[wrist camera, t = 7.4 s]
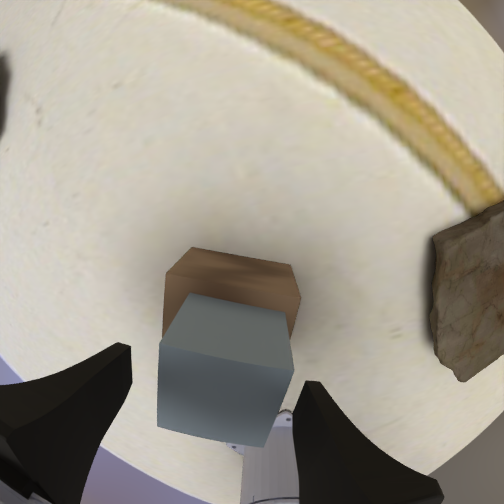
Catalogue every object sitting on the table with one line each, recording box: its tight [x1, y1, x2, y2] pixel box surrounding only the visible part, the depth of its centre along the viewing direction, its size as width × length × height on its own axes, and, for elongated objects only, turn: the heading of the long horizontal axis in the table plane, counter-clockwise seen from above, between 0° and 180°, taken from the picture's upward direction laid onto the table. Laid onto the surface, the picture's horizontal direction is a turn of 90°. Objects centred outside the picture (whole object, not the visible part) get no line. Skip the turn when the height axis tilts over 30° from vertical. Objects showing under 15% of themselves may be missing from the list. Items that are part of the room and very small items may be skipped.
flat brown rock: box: [429, 201, 504, 382], centre depth 18 cm, size 17×15×4 cm
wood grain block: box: [162, 247, 301, 340], centre depth 18 cm, size 7×7×6 cm
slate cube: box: [157, 293, 294, 448], centre depth 13 cm, size 5×5×5 cm
